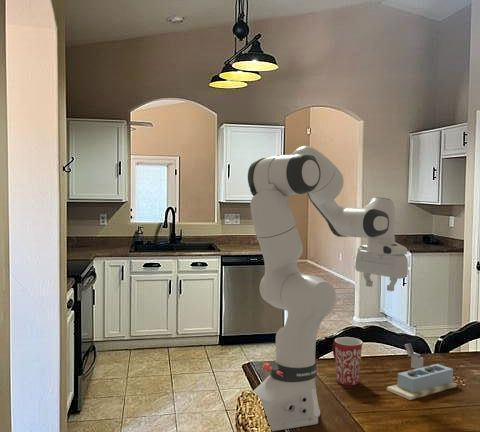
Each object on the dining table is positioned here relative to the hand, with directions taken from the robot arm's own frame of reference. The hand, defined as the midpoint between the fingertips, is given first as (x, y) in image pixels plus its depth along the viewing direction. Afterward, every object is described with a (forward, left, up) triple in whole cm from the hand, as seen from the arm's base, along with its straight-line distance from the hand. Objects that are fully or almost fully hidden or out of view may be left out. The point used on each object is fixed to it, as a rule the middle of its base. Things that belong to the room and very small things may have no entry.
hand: (379, 288), depth 168 cm
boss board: (+6, -13, -30) cm, 33 cm away
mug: (-10, +5, -30) cm, 32 cm away
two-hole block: (+7, -13, -29) cm, 33 cm away
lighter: (+20, +2, -30) cm, 36 cm away
